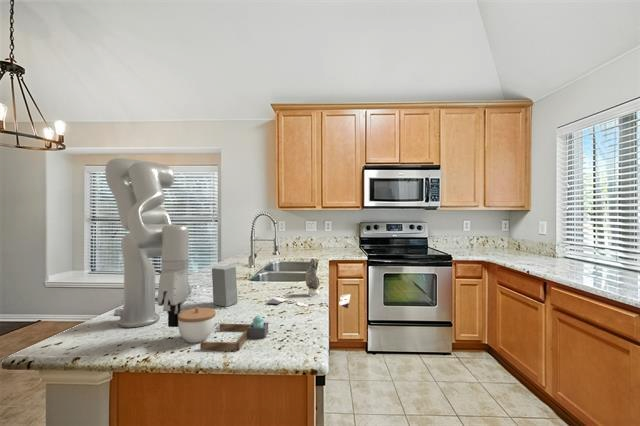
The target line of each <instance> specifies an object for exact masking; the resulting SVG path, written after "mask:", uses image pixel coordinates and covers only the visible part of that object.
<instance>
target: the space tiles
mask: <svg viewBox="0 0 640 426" xmlns="http://www.w3.org/2000/svg"><path fill="white" fill-rule="evenodd" d="M220 324H222V323H221V322H220V323H219V324H218V323H216V322H215V325H214V328H215V329H216V330H217V329H218V330H220Z"/></svg>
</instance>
